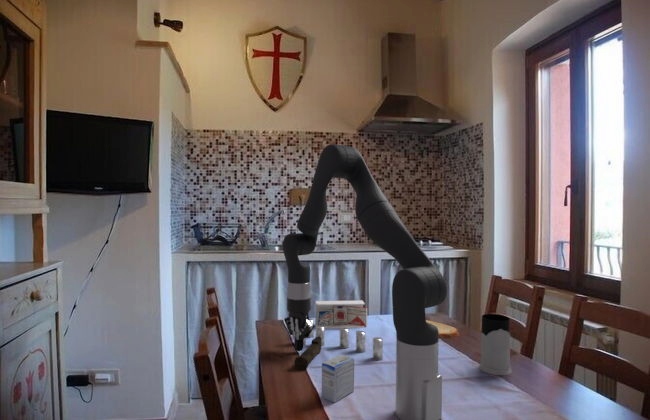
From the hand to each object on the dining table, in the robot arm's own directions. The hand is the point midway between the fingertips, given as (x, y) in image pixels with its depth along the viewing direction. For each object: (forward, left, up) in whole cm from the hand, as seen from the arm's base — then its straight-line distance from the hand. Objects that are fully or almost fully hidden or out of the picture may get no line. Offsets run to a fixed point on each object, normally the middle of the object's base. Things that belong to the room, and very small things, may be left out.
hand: (298, 350), depth 131 cm
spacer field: (-5, -11, -1) cm, 12 cm away
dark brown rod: (-5, 0, -1) cm, 6 cm away
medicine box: (-29, +11, -1) cm, 31 cm away
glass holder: (-46, -36, -1) cm, 58 cm away
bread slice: (-15, -51, -2) cm, 53 cm away
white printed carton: (+11, -31, -1) cm, 33 cm away
